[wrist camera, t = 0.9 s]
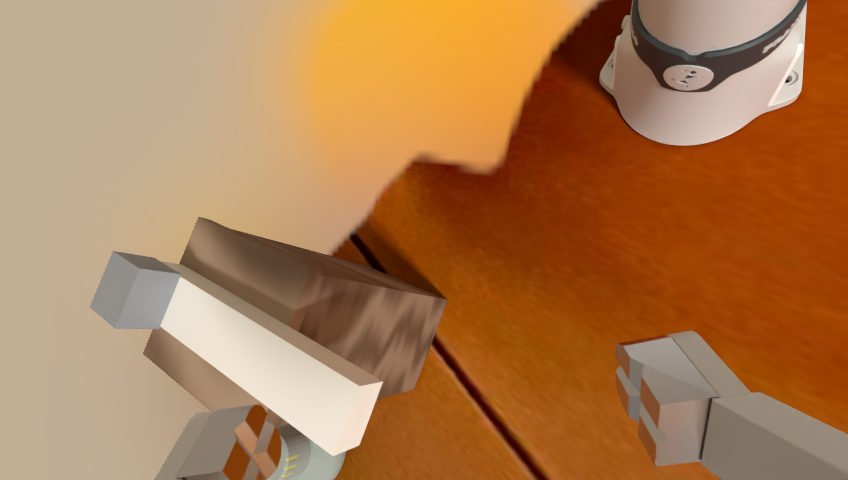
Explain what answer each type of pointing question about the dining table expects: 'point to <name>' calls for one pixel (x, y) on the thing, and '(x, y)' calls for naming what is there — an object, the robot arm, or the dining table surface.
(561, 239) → the dining table surface
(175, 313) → the cream rectangular block
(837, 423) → the dining table surface
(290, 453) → the air freshener
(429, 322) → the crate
